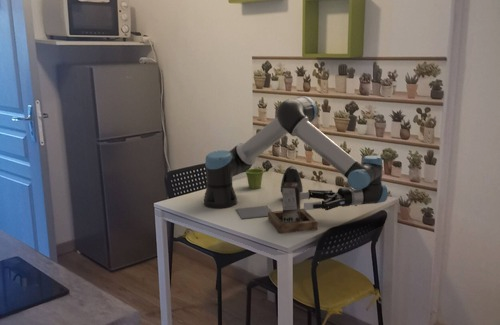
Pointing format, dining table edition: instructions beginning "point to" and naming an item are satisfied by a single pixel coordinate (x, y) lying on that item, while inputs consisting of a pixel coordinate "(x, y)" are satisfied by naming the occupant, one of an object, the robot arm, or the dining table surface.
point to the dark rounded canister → (291, 177)
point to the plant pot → (254, 178)
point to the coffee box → (291, 202)
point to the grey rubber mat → (253, 212)
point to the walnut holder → (307, 222)
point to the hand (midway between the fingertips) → (298, 201)
